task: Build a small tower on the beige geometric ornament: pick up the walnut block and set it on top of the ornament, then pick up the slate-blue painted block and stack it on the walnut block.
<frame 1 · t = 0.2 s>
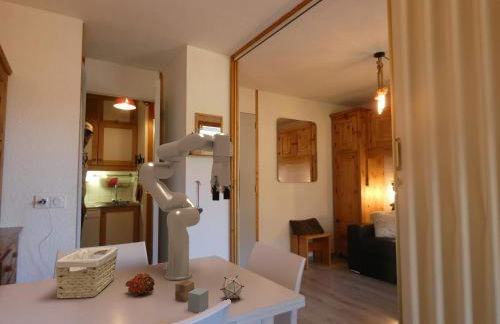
hand: (221, 200, 128), 36 cm above the table, tool pointing down, fingers open, 9 cm apart
beige geometric ornament: (231, 299, 110), on the table
block a: (184, 299, 110), on the table
block b: (198, 309, 101), on the table
storage basket: (88, 289, 121), on the table
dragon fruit: (139, 294, 115), on the table
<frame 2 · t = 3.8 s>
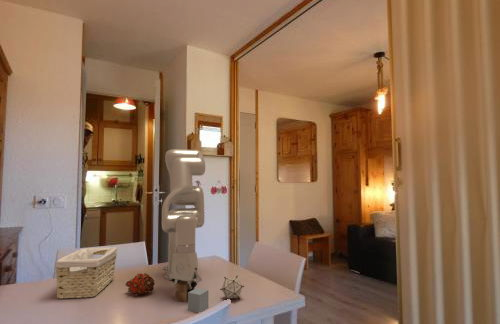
hand: (184, 297, 110), 1 cm above the table, tool pointing down, fingers closed on block a, 5 cm apart
block a: (184, 298, 110), on the table, touching gripper
everything else where it was.
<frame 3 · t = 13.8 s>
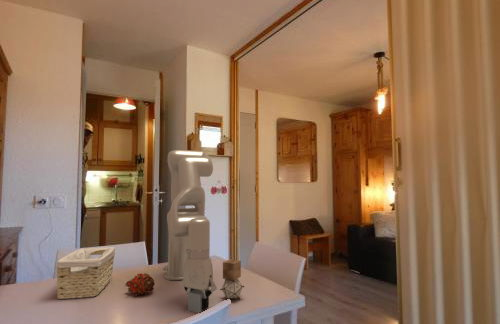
hand: (198, 306, 101), 1 cm above the table, tool pointing down, fingers closed on block b, 5 cm apart
beige geometric ornament: (232, 299, 110), on the table, touching block a
block a: (231, 277, 111), point 8 cm above the table, touching beige geometric ornament
block b: (198, 308, 101), on the table, touching gripper
when the fingers open (16 cm above the table, at t = 19.2 s): block b drops 1 cm, resting on block a.
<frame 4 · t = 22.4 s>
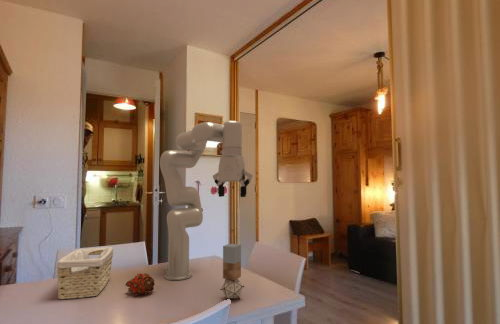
hand: (232, 196, 113), 38 cm above the table, tool pointing down, fingers open, 9 cm apart
block a: (232, 277, 111), point 8 cm above the table, touching block b, beige geometric ornament
block b: (232, 261, 111), point 14 cm above the table, touching block a
at the end: block a inside the target area on the beige geometric ornament (0.0 cm from its centre), point 8.0 cm above the beige geometric ornament's base; block b inside the target area on the beige geometric ornament (0.1 cm from its centre), point 14.0 cm above the beige geometric ornament's base; block b tilted 0° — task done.
